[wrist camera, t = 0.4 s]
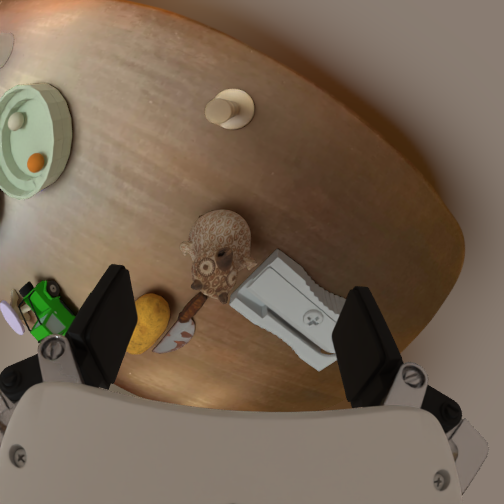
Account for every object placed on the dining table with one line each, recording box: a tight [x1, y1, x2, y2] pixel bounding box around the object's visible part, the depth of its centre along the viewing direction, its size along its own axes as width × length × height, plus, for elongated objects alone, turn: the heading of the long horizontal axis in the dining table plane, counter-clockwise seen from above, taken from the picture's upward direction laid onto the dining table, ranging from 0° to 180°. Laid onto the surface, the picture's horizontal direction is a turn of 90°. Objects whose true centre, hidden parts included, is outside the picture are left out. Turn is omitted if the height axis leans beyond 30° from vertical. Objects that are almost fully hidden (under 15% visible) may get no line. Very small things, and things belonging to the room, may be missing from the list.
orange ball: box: [27, 153, 44, 173], centre depth 28 cm, size 3×3×3 cm
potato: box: [126, 293, 170, 354], centre depth 42 cm, size 7×14×7 cm, turn 140°
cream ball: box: [8, 112, 24, 131], centre depth 24 cm, size 3×3×3 cm
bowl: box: [0, 83, 72, 200], centre depth 26 cm, size 17×17×5 cm
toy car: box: [18, 280, 76, 343], centre depth 41 cm, size 8×17×10 cm, turn 28°
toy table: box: [0, 289, 31, 335], centre depth 44 cm, size 10×9×6 cm
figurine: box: [180, 209, 257, 304], centre depth 30 cm, size 9×10×15 cm
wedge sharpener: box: [229, 249, 346, 371], centre depth 41 cm, size 11×20×7 cm, turn 51°
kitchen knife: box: [152, 292, 207, 354], centre depth 47 cm, size 21×2×5 cm
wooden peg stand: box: [204, 89, 254, 129], centre depth 22 cm, size 5×5×15 cm
